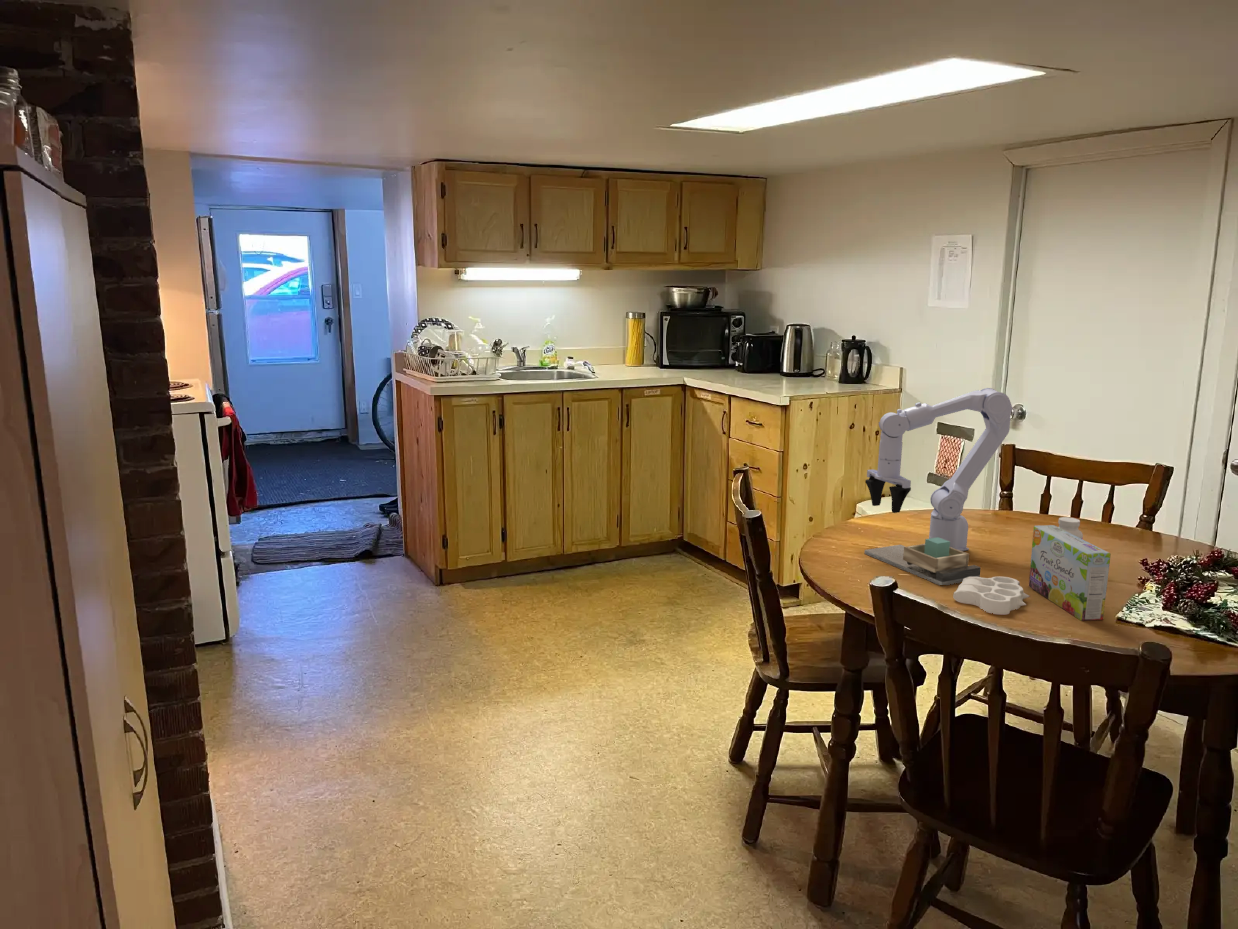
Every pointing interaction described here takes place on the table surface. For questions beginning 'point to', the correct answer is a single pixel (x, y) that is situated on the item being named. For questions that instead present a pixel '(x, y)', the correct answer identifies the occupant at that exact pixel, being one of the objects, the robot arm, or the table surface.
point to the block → (937, 547)
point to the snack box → (1069, 572)
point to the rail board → (944, 577)
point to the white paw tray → (991, 594)
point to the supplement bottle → (1070, 526)
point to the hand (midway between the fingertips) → (885, 508)
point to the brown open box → (935, 559)
